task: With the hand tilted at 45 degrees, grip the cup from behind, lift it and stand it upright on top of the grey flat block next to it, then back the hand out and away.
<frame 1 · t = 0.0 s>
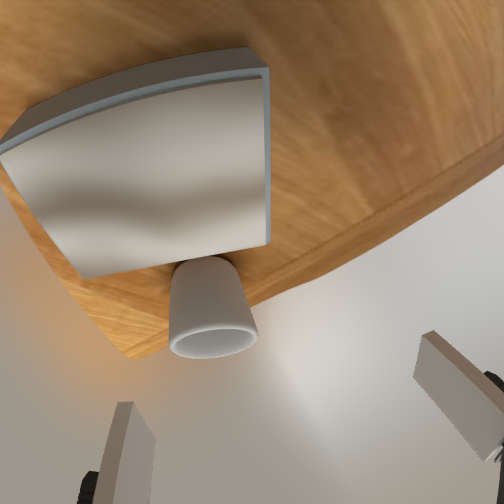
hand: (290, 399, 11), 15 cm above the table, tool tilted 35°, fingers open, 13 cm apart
grey flat block: (147, 152, 17), on the table
cup: (202, 276, 30), on the table
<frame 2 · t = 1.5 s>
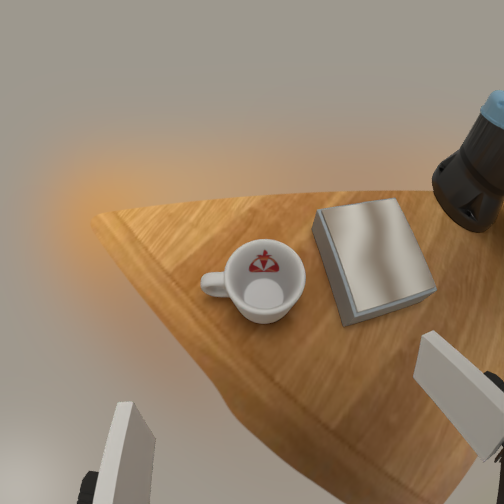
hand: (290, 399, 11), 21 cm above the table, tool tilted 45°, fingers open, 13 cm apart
grey flat block: (367, 265, 37), on the table
cup: (252, 299, 35), on the table
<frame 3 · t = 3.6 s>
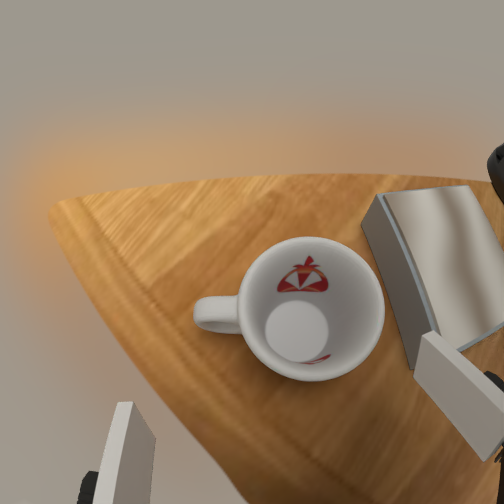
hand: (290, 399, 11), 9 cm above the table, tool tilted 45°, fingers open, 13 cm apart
grey flat block: (436, 277, 23), on the table
cup: (276, 333, 22), on the table
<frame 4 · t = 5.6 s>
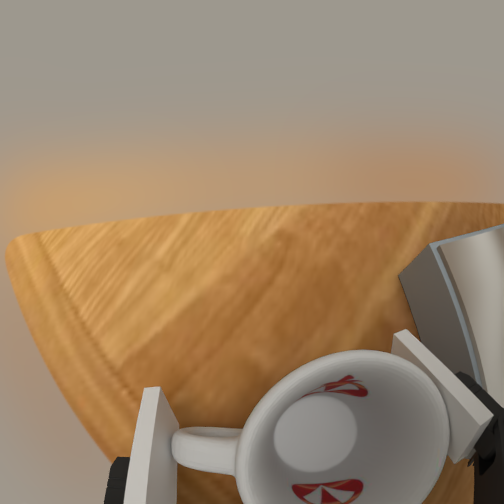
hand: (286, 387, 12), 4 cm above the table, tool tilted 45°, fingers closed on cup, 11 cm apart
grey flat block: (482, 338, 16), on the table
cup: (288, 433, 14), on the table, touching gripper
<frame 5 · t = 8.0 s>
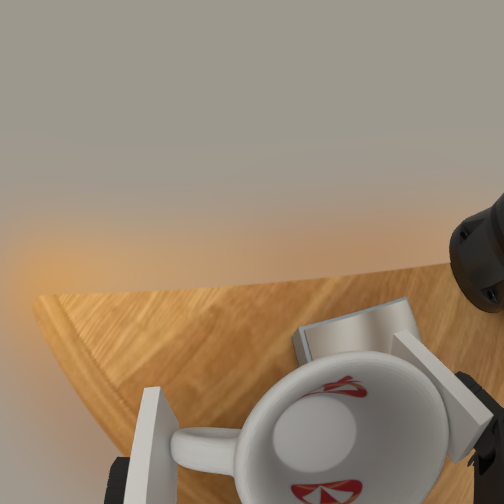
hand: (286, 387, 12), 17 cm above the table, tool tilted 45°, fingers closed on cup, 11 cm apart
grey flat block: (360, 383, 27), on the table
cup: (288, 433, 14), point 13 cm above the table, touching gripper
when the fingers open (11 cm above the table, at t = 10.4 s): cup drops 1 cm, resting on grey flat block.
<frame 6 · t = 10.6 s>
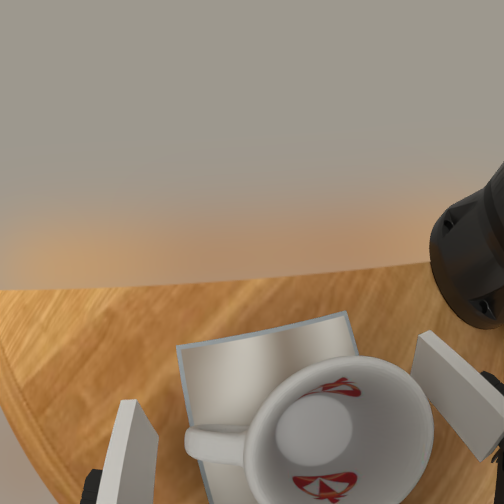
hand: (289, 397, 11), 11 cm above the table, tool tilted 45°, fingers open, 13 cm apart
grey flat block: (280, 422, 20), on the table
cup: (289, 430, 16), point 5 cm above the table, touching grey flat block
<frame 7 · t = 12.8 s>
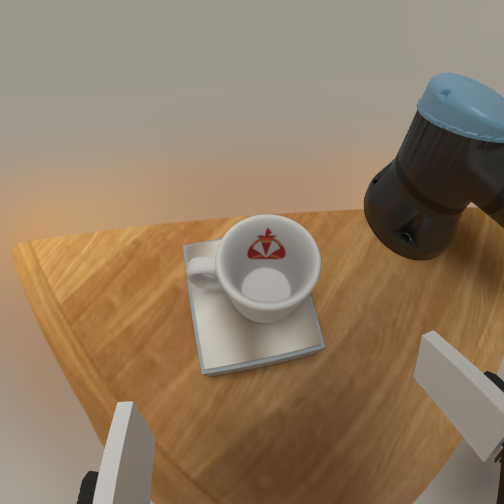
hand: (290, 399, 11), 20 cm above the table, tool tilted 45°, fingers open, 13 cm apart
grey flat block: (250, 307, 33), on the table
cup: (251, 294, 29), point 5 cm above the table, touching grey flat block
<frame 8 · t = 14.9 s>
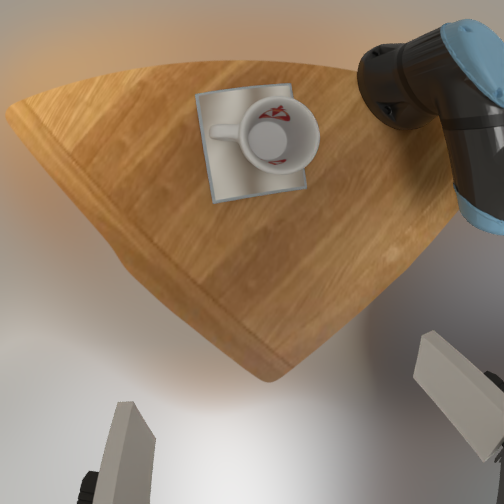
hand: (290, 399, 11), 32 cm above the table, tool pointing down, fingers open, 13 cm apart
grey flat block: (247, 143, 38), on the table
cup: (254, 140, 33), point 5 cm above the table, touching grey flat block
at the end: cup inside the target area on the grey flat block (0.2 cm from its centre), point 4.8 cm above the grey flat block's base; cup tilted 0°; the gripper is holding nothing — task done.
